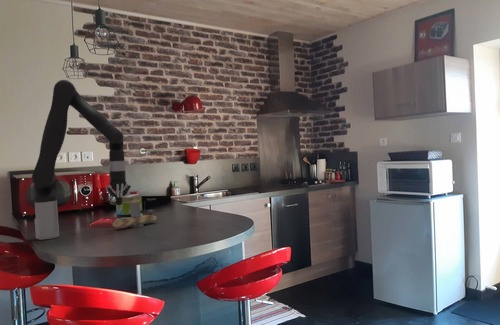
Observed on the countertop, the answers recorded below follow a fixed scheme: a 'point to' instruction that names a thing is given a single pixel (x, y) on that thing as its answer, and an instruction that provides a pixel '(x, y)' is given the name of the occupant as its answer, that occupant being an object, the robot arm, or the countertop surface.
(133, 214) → the block
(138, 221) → the bread loaf
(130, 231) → the countertop surface
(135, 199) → the tea box
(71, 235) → the countertop surface
